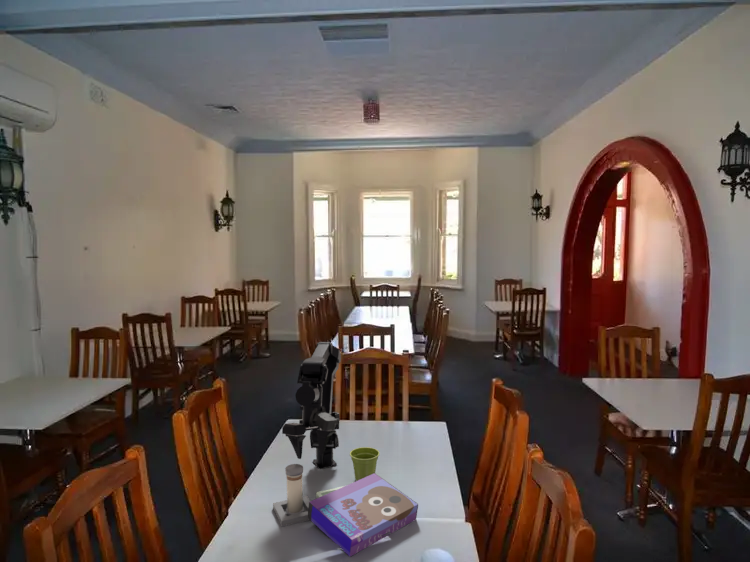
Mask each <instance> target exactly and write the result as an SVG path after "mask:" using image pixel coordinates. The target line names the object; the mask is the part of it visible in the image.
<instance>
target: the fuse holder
mask: <svg viewBox="0 0 750 562" xmlns="http://www.w3.org/2000/svg"><path fill="white" fill-rule="evenodd" d="M310 501H311V499H310V498H309V496H308V495H305V496H304V495H303V507H304V512H302V513H298V514H294V515H289V516H287V514H286V509H287V499H286V500H281V501H276V502H273V503H272V509H273V511H274V513H275V515H276V518H277V519H278V521H279V524H280V525H281V527H286V526H290V525H295V524H299V523H303V522H307V521H311V520H310V519H309V518H308V507H309V502H310Z"/></svg>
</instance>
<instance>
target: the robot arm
mask: <svg viewBox="0 0 750 562" xmlns="http://www.w3.org/2000/svg"><path fill="white" fill-rule="evenodd" d="M341 354H342V353H341V351H340V349H339V348H338V347H336V346H335V345H334V344H333V343H332V342H330V341H319V342H317V343H316V347H315V350H314V352H313V354H312V355H311V357H308V358H305V359H304V360H303V362H302V363H301V364H300V367H299V371H298V377H297V382H296V383H297V384H298V385H300V384H301V385H302V386H299V388H298V389H297V390H296V393H295V401H296V402H297V403H298V405H299V410H302V418H301V419H299V423H297V422H289V423H284V424H283V426H282V430H281V431H282V434H283V435H285V437H287V438H288V441H290V444H291V445H292V448H293V450H294V452H295V455H296V457H297V459H298V460H301V459H302V457H303V456H302V455H303V445H304V440H305V438H306V437H307V435H305V433H306V432H307V431H310V433H309V441H310V448H311V449H316V450H315V455H316V456H315V459H313V460H312V462H313V463H314V465H315V466H316V468H318V469H325V468H329V467H334V466H335V467H336V466H337V464H338V463H337V462H336V461H335V460H334V450H336V448H338V447H340V446H339V444H340V441H339V435H338V433H337V430H340V413H339V412H337V411H333V412H332V409H333V408H332V405H333V403H332V402H333V391H334V390H333V389H334V388H333V387H334V375H335V374H336V372H337V371H338V370H339V367H340V366H339V365H340V363H341V361H342V355H341Z"/></svg>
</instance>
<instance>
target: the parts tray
mask: <svg viewBox="0 0 750 562" xmlns="http://www.w3.org/2000/svg"><path fill="white" fill-rule="evenodd" d="M344 486H345V485H342V486H338V487H334V488H330V489H324V490H320V491H316V493H315V494H316V496H315V497H316V499H317V498H319V497H322V496H324V495H326V494H328V493H331V492H333V491H335V490H337V489H340V488H342V487H344Z"/></svg>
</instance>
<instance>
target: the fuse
mask: <svg viewBox="0 0 750 562" xmlns="http://www.w3.org/2000/svg"><path fill="white" fill-rule="evenodd" d="M284 469H285V475H286V492H287V493H286V500H287V509H286V514H287V516H289V515H294V514H298V513H302V512H304V507H303V497H304V495H303V493H304V492H303V473H304V466H303V464H299V463H292V464H289V465H287V466H285V468H284Z"/></svg>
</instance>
